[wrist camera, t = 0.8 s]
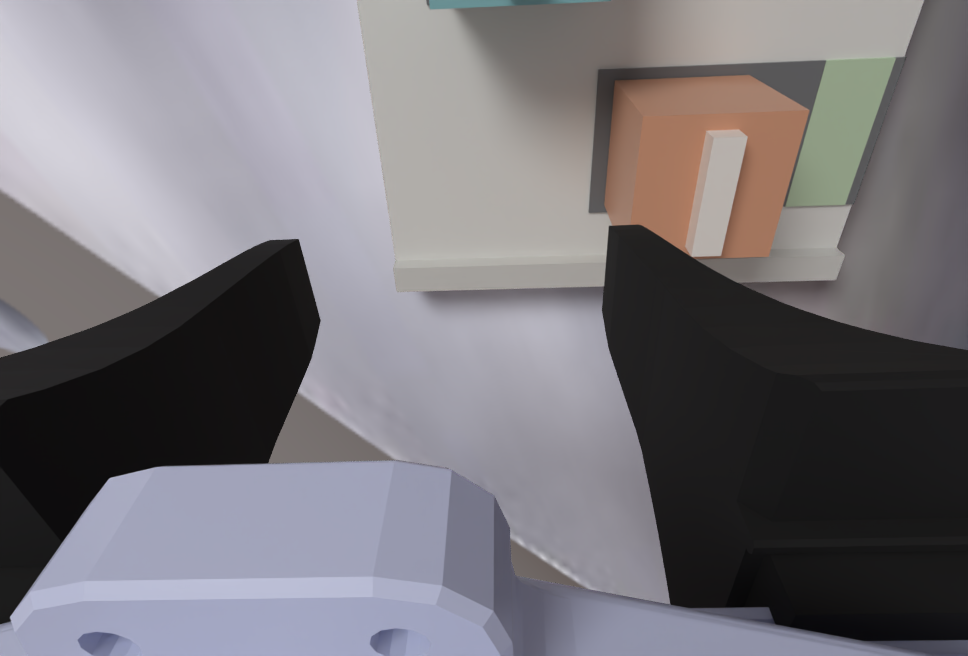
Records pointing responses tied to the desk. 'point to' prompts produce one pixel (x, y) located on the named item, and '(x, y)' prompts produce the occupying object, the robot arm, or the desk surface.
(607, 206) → the orange block with handle
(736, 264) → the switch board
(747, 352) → the robot arm
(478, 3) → the teal handled block
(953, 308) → the desk surface
